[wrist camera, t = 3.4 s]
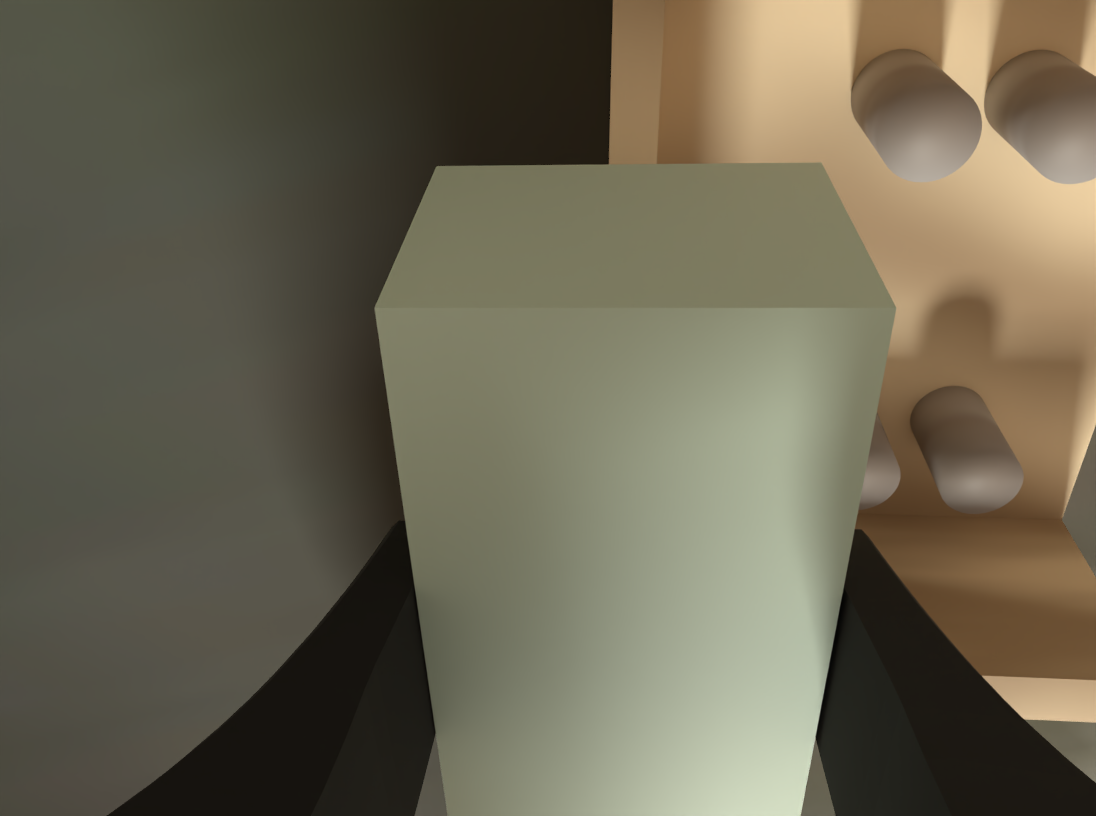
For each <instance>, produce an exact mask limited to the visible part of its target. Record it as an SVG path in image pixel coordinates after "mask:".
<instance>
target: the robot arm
mask: <svg viewBox="0 0 1096 816" xmlns="http://www.w3.org/2000/svg"><path fill="white" fill-rule="evenodd" d="M435 733H436V731H435V724H434V717H433V710H432V703H431V696H430V689H429V683H428V676H427V669H426V662H425V655H424V648H423V641H422V634H421V627H420V620H419V613H418V606H417V599H416V592H415V585H414V579H413V572H412V565H411V558H410V551H409V544H408V537H407V530H406V523H405V521H398V522H397V523H396V524H395V525H394V526H392V528H391V529H390V531H389V532H388V533H387V535H386V536H385V538H384V539H383V541H382V542H381V544H380V545H379V546H378V548H377V549H376V551H375V552H374V553H373V555H372V556H371V558H370V559H369V560H368V562H367V563H366V564H365V566H364V567H363V569H362V570H361V571H360V573H359V574H358V575H357V576H356V578H355V579H354V580H353V582H352V583H351V584H350V586H349V587H348V588H347V590H346V591H345V592H344V593H343V595H342V596H341V597H340V598H339V600H338V601H337V602H336V603H335V605H334V606H333V607H332V608H331V610H330V611H329V612H328V613H327V614H326V616H325V617H324V618H323V619H322V621H321V622H320V623H319V624H318V626H317V627H316V628H315V629H314V630H313V631H312V633H311V634H310V635H309V636H308V637H307V638H306V639H305V640H304V642H303V643H302V644H301V645H300V646H299V647H298V648H297V649H296V650H295V652H294V653H293V654H292V655H291V656H290V657H289V658H288V659H287V660H286V662H285V663H284V664H283V665H282V666H281V667H280V668H279V669H278V670H277V671H276V673H275V674H274V675H273V676H272V677H271V678H270V679H269V680H268V681H267V682H266V683H265V684H264V685H263V686H262V687H261V688H260V689H259V690H258V691H257V692H256V693H255V694H254V695H253V696H252V697H251V698H250V699H249V700H248V701H247V702H246V703H245V704H244V705H243V706H242V707H240V708H239V709H238V710H237V711H236V712H235V713H234V714H233V715H232V716H231V717H230V718H229V719H228V720H227V721H226V722H224V723H223V724H222V725H221V726H220V727H219V728H218V729H217V730H215V731H214V732H213V733H212V734H211V735H210V736H208V737H207V738H206V739H205V740H204V741H203V742H201V743H200V744H199V745H198V746H197V747H196V748H194V749H193V750H192V751H191V752H190V753H189V754H187V755H186V756H185V757H184V758H183V759H182V760H180V761H179V762H178V763H177V764H175V765H174V766H173V767H172V768H171V769H169V770H168V771H167V772H166V773H164V774H163V775H162V776H160V777H159V778H158V779H157V780H155V781H154V782H153V783H151V784H150V785H149V786H147V787H146V788H144V789H143V790H142V791H140V792H139V793H138V794H136V795H135V796H133V797H132V798H131V799H129V800H128V801H127V802H125V803H124V804H122V805H121V806H120V807H118V808H117V809H116V810H114V811H113V812H111V813H110V814H109V815H107V816H414V815H415V811H416V808H417V804H418V800H419V796H420V792H421V788H422V784H423V780H424V776H425V772H426V769H427V765H428V761H429V757H430V753H431V749H432V745H433V741H434V737H435ZM815 737H816V741H817V745H818V749H819V753H820V757H821V761H822V764H823V768H824V772H825V776H826V780H827V784H828V787H829V791H830V795H831V799H832V803H833V807H834V811H835V814H836V816H1096V783H1095V782H1094V781H1093V780H1091V779H1090V778H1089V777H1088V776H1087V775H1085V774H1084V773H1083V772H1082V771H1081V770H1080V769H1078V768H1077V767H1076V766H1075V765H1074V764H1072V763H1071V762H1070V761H1069V760H1068V759H1067V758H1065V757H1064V756H1063V755H1062V754H1061V753H1060V752H1059V751H1058V750H1057V749H1056V748H1054V747H1053V746H1052V745H1051V744H1050V743H1049V742H1048V741H1047V740H1046V739H1045V738H1043V737H1042V736H1041V735H1040V734H1039V733H1038V732H1037V731H1036V730H1035V729H1034V728H1033V727H1031V726H1030V725H1029V724H1028V723H1027V722H1026V721H1025V720H1024V719H1023V718H1022V717H1021V716H1020V715H1019V714H1018V713H1017V712H1016V711H1015V710H1014V709H1013V708H1012V707H1011V706H1010V705H1009V704H1008V703H1007V702H1006V701H1005V700H1004V699H1003V698H1002V697H1001V696H1000V695H999V694H998V692H997V691H996V690H995V689H994V688H993V687H992V686H991V685H990V684H989V683H988V682H987V681H986V680H985V679H984V678H983V677H982V676H981V675H980V674H979V672H978V671H977V670H976V669H975V668H974V667H973V666H972V665H971V664H970V662H969V661H968V660H967V659H966V658H965V657H964V656H963V655H962V654H961V652H960V651H959V650H958V649H957V648H956V647H955V645H954V644H953V643H952V642H951V641H950V640H949V638H948V637H947V636H946V635H945V634H944V633H943V631H942V630H941V629H940V628H939V627H938V626H937V624H936V623H935V622H934V621H933V620H932V618H931V617H930V616H929V615H928V614H927V612H926V611H925V610H924V609H923V607H922V606H921V605H920V604H919V602H918V601H917V600H916V599H915V597H914V596H913V595H912V594H911V592H910V591H909V590H908V588H907V587H906V586H905V585H904V583H903V582H902V581H901V580H900V578H899V577H898V576H897V574H896V573H895V572H894V570H893V569H892V568H891V566H890V565H889V564H888V562H887V561H886V560H885V558H884V557H883V556H882V554H881V553H880V552H879V550H878V549H877V548H876V546H875V545H874V543H873V542H872V541H871V539H870V538H869V537H868V536H867V535H866V533H865V532H864V531H863V530H862V529H855V530H854V535H853V541H852V546H851V551H850V556H849V562H848V567H847V572H846V578H845V583H844V588H843V594H842V599H841V604H840V609H839V615H838V620H837V625H836V631H835V636H834V641H833V646H832V652H831V657H830V662H829V668H828V673H827V678H826V684H825V689H824V694H823V699H822V705H821V710H820V715H819V721H818V726H817V731H816V736H815Z"/></svg>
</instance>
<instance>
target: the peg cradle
mask: <svg viewBox="0 0 1096 816" xmlns="http://www.w3.org/2000/svg"><path fill="white" fill-rule="evenodd" d="M817 162H821V163H822V165H823V166H824V168H825V170H826V172H827V174H828V176H829V178H830V180H831V182H832V184H833V186H834V188H835V190H836V192H837V194H838V195H839V197H840V199H841V201H842V203H843V205H844V207H845V209H846V211H847V213H848V215H849V217H850V219H851V221H852V223H853V225H854V226H855V228H856V230H857V232H858V234H859V236H860V238H861V240H862V242H863V244H864V246H865V248H866V250H867V252H868V254H869V256H870V257H871V259H872V261H873V263H874V265H875V267H876V269H877V271H878V273H879V275H880V277H881V279H882V281H883V283H884V285H885V287H886V288H887V290H888V292H889V294H890V296H891V298H892V300H893V302H894V304H895V306H896V313H895V318H894V324H893V329H892V334H891V339H890V345H889V350H888V355H887V361H886V366H885V371H884V377H883V382H882V387H881V392H880V398H879V403H878V408H877V414H876V419H875V424H874V429H873V435H872V440H871V445H870V451H869V456H868V461H867V466H866V472H865V477H864V482H863V488H862V493H861V498H860V504H859V509H858V514H857V519H856V525H855V529H862V530H863V531H864V532H865V533H866V535H867V536H868V537H869V538H870V539H871V541H872V542H873V543H874V545H875V546H876V548H877V549H878V550H879V552H880V553H881V554H882V556H883V557H884V558H885V560H886V561H887V562H888V564H889V565H890V566H891V568H892V569H893V570H894V572H895V573H896V574H897V576H898V577H899V578H900V580H901V581H902V582H903V583H904V585H905V586H906V587H907V588H908V590H909V591H910V592H911V594H912V595H913V596H914V597H915V599H916V600H917V601H918V602H919V604H920V605H921V606H922V607H923V609H924V610H925V611H926V612H927V614H928V615H929V616H930V617H931V618H932V620H933V621H934V622H935V623H936V624H937V626H938V627H939V628H940V629H941V630H942V631H943V633H944V634H945V635H946V636H947V637H948V638H949V640H950V641H951V642H952V643H953V644H954V645H955V647H956V648H957V649H958V650H959V651H960V652H961V654H962V655H963V656H964V657H965V658H966V659H967V660H968V661H969V662H970V664H971V665H972V666H973V667H974V668H975V669H976V670H977V671H978V672H979V674H980V675H981V676H982V677H983V678H984V679H985V680H986V681H987V682H988V683H989V684H990V685H991V686H992V687H993V688H994V689H995V690H996V691H997V692H998V694H999V695H1000V696H1001V697H1002V698H1003V699H1004V700H1005V701H1006V702H1007V703H1008V704H1009V705H1010V706H1011V707H1012V708H1013V709H1014V710H1015V711H1016V712H1017V713H1018V714H1019V715H1020V716H1021V717H1022V718H1023V719H1031V720H1054V721H1077V722H1096V577H1095V576H1094V574H1093V572H1092V570H1091V569H1090V567H1089V565H1088V564H1087V562H1086V560H1085V559H1084V557H1083V555H1082V554H1081V552H1080V550H1079V548H1078V547H1077V545H1076V543H1075V542H1074V540H1073V538H1072V537H1071V535H1070V533H1069V532H1068V530H1067V528H1066V526H1065V525H1064V523H1063V521H1062V517H1063V515H1064V512H1065V509H1066V506H1067V503H1068V501H1069V498H1070V495H1071V492H1072V489H1073V487H1074V484H1075V481H1076V478H1077V475H1078V473H1079V470H1080V467H1081V464H1082V461H1083V459H1084V456H1085V453H1086V450H1087V448H1088V445H1089V442H1090V439H1091V436H1092V434H1093V431H1094V428H1095V425H1096V0H613V19H612V59H611V99H610V139H609V164H712V163H817Z"/></svg>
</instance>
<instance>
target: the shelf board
mask: <svg viewBox="0 0 1096 816" xmlns="http://www.w3.org/2000/svg"><path fill="white" fill-rule="evenodd" d="M895 313H896V306H895V304H894V302H893V300H892V298H891V296H890V294H889V292H888V290H887V288H886V287H885V285H884V283H883V281H882V279H881V277H880V275H879V273H878V271H877V269H876V267H875V265H874V263H873V261H872V259H871V257H870V256H869V254H868V252H867V250H866V248H865V246H864V244H863V242H862V240H861V238H860V236H859V234H858V232H857V230H856V228H855V226H854V225H853V223H852V221H851V219H850V217H849V215H848V213H847V211H846V209H845V207H844V205H843V203H842V201H841V199H840V197H839V195H838V194H837V192H836V190H835V188H834V186H833V184H832V182H831V180H830V178H829V176H828V174H827V172H826V170H825V168H824V166H823V165H822V163H821V162H817V163H712V164H606V165H501V166H436V168H435V171H434V173H433V175H432V178H431V180H430V182H429V184H428V187H427V189H426V191H425V194H424V196H423V198H422V200H421V203H420V205H419V207H418V210H417V212H416V214H415V216H414V219H413V221H412V223H411V226H410V228H409V230H408V232H407V235H406V237H405V239H404V242H403V244H402V246H401V248H400V251H399V253H398V255H397V258H396V260H395V262H394V264H393V267H392V269H391V271H390V274H389V276H388V278H387V280H386V283H385V285H384V287H383V290H382V292H381V294H380V296H379V299H378V301H377V303H376V306H375V315H376V322H377V329H378V336H379V343H380V350H381V357H382V364H383V371H384V377H385V384H386V391H387V398H388V405H389V412H390V419H391V426H392V433H393V440H394V447H395V454H396V461H397V468H398V475H399V481H400V488H401V495H402V502H403V509H404V516H405V523H406V530H407V537H408V544H409V551H410V558H411V565H412V572H413V579H414V585H415V592H416V599H417V606H418V613H419V620H420V627H421V634H422V641H423V648H424V655H425V662H426V669H427V676H428V683H429V689H430V696H431V703H432V710H433V717H434V724H435V731H436V738H437V745H438V752H439V759H440V766H441V773H442V780H443V787H444V794H445V800H446V807H447V814H448V816H801V811H802V805H803V800H804V795H805V789H806V784H807V779H808V774H809V768H810V763H811V758H812V752H813V747H814V742H815V736H816V731H817V726H818V721H819V715H820V710H821V705H822V699H823V694H824V689H825V684H826V678H827V673H828V668H829V662H830V657H831V652H832V646H833V641H834V636H835V631H836V625H837V620H838V615H839V609H840V604H841V599H842V594H843V588H844V583H845V578H846V572H847V567H848V562H849V556H850V551H851V546H852V541H853V535H854V530H855V525H856V519H857V514H858V509H859V504H860V498H861V493H862V488H863V482H864V477H865V472H866V466H867V461H868V456H869V451H870V445H871V440H872V435H873V429H874V424H875V419H876V414H877V408H878V403H879V398H880V392H881V387H882V382H883V377H884V371H885V366H886V361H887V355H888V350H889V345H890V339H891V334H892V329H893V324H894V318H895Z"/></svg>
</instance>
